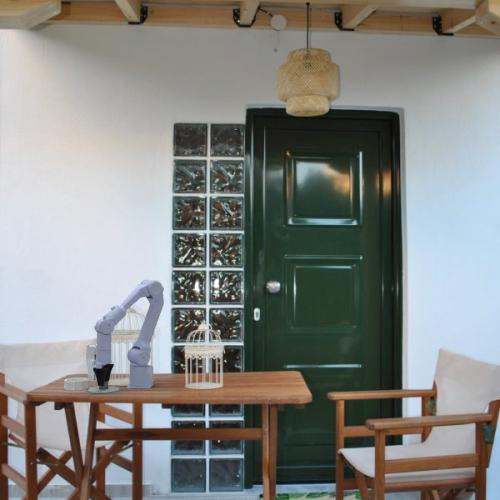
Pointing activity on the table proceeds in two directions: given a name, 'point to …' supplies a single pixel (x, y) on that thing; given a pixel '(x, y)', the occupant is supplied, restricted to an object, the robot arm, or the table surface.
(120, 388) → the mat
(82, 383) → the bowl
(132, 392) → the table surface
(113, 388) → the lid
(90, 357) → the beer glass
